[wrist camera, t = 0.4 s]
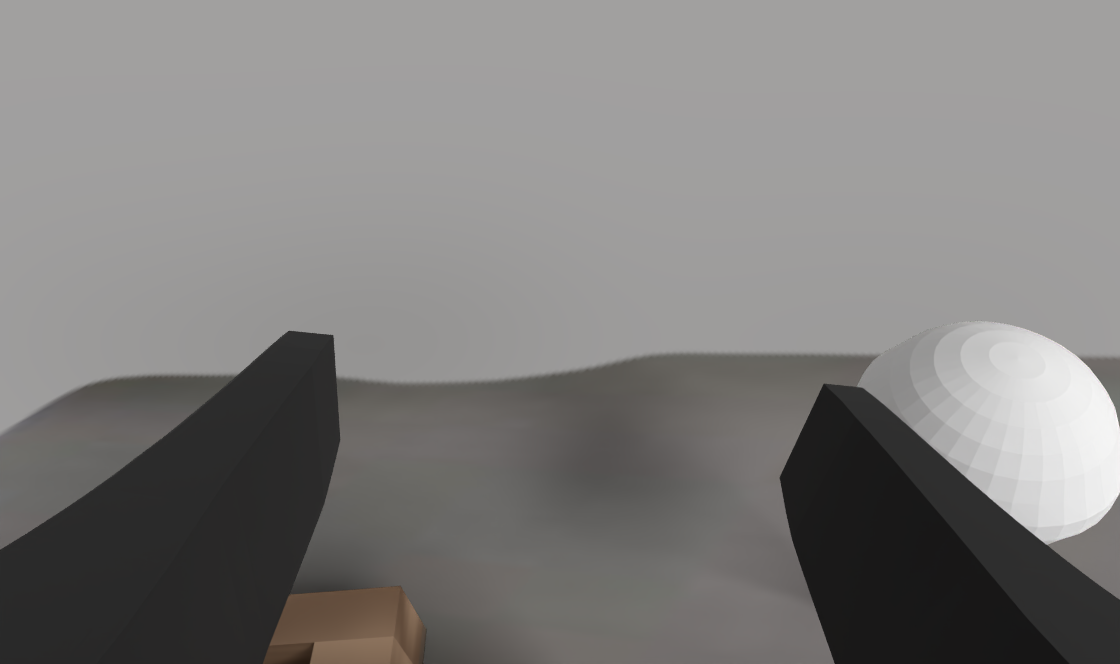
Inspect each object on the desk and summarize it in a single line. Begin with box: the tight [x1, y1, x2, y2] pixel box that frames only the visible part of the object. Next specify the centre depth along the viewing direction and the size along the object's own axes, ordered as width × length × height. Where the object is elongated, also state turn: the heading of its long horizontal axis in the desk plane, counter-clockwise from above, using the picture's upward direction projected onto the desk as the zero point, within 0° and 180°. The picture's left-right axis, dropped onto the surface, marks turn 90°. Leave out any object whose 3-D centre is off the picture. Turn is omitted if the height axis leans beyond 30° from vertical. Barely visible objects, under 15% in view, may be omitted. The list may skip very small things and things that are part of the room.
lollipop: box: [857, 321, 1120, 545], centre depth 21 cm, size 6×6×15 cm
